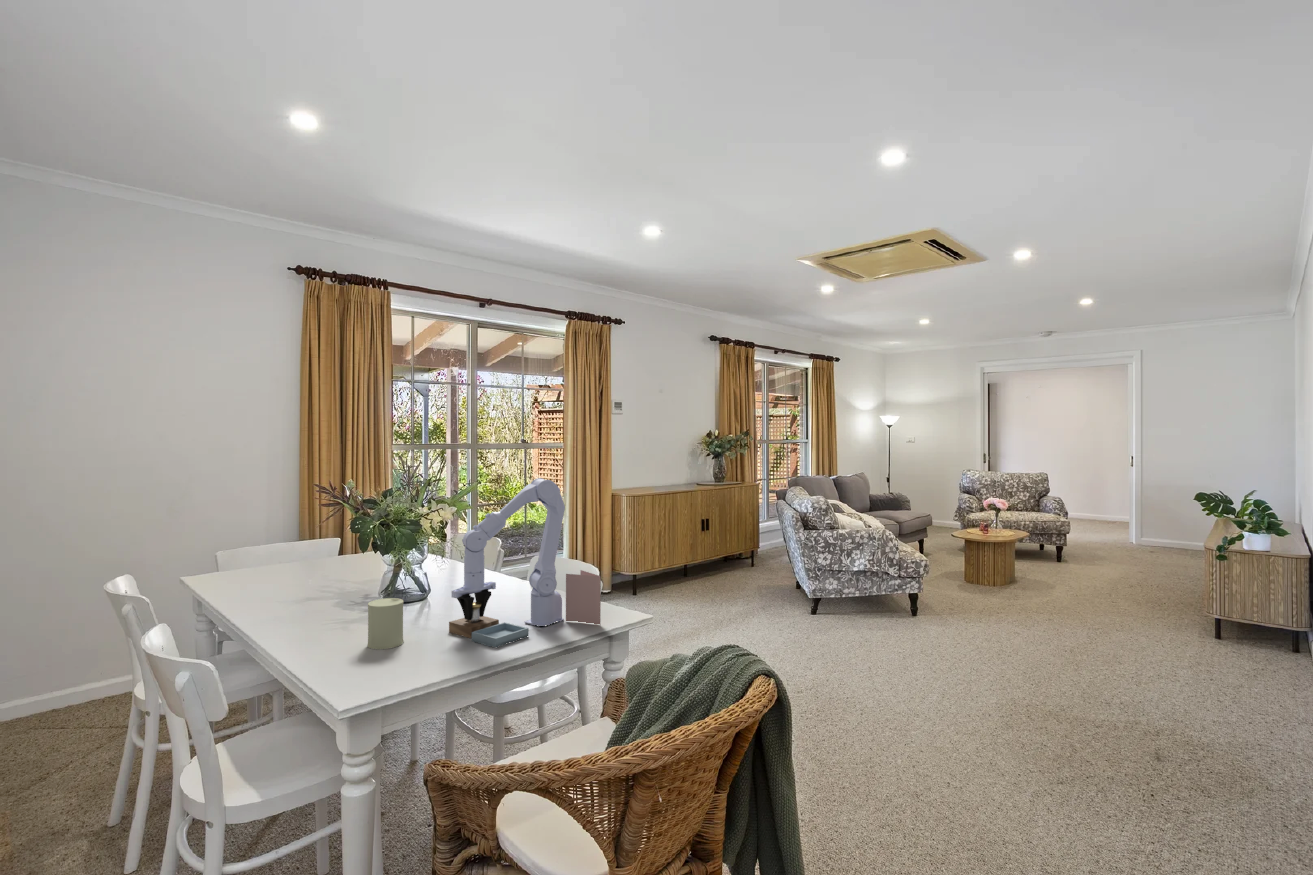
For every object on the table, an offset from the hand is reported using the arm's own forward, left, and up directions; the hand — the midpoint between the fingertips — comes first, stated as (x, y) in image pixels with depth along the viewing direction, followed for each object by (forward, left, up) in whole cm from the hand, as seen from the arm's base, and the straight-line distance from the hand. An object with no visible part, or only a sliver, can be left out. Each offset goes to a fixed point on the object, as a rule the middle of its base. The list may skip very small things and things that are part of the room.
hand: (474, 617), depth 191 cm
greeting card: (-25, +20, -4) cm, 32 cm away
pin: (0, 0, -4) cm, 4 cm away
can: (+22, -10, -4) cm, 25 cm away
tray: (0, +12, -4) cm, 13 cm away
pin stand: (0, 0, -4) cm, 4 cm away
